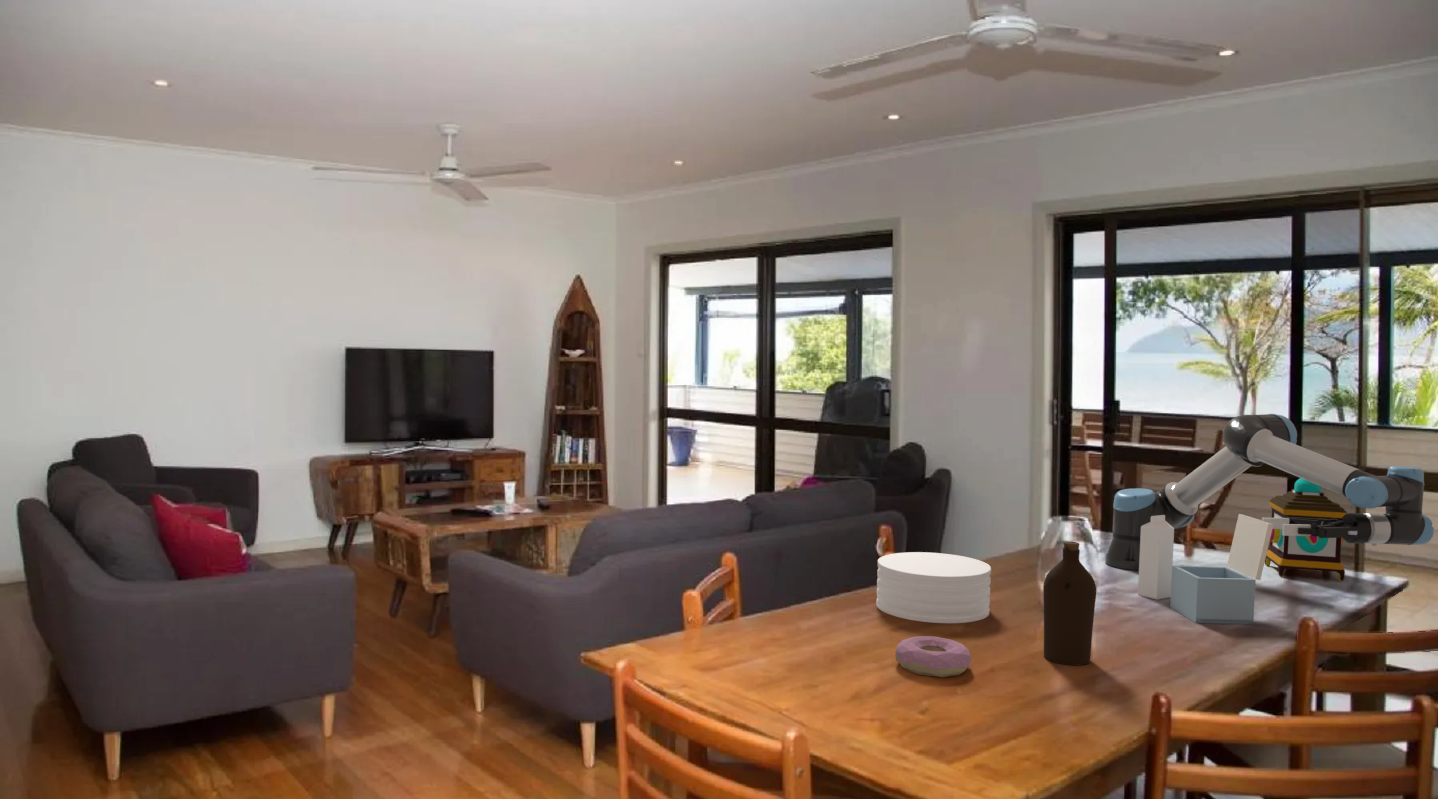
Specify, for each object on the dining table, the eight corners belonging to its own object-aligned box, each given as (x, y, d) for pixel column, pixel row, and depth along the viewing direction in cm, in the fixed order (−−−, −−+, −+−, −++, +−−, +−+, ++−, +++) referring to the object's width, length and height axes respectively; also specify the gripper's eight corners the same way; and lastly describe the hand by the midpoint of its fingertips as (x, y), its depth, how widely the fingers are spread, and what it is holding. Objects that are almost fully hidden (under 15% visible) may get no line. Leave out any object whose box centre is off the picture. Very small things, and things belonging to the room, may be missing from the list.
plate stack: (860, 613, 244) (862, 567, 244) (895, 589, 269) (897, 547, 268) (974, 630, 231) (976, 581, 231) (1000, 604, 256) (1001, 560, 255)
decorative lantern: (1329, 569, 307) (1334, 473, 305) (1351, 583, 288) (1357, 481, 286) (1258, 564, 312) (1262, 469, 311) (1275, 577, 293) (1280, 477, 291)
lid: (1226, 566, 254) (1231, 567, 254) (1255, 579, 240) (1260, 580, 240) (1238, 513, 254) (1243, 514, 254) (1268, 523, 240) (1273, 524, 240)
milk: (1137, 595, 268) (1140, 514, 267) (1152, 592, 271) (1155, 512, 270) (1157, 600, 263) (1160, 518, 262) (1171, 597, 266) (1174, 516, 265)
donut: (879, 666, 203) (880, 642, 203) (921, 651, 214) (922, 628, 214) (944, 686, 192) (945, 660, 192) (985, 669, 203) (986, 645, 203)
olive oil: (1102, 666, 206) (1107, 547, 205) (1053, 666, 205) (1058, 547, 203) (1079, 650, 216) (1083, 537, 215) (1032, 651, 215) (1036, 537, 214)
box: (1224, 609, 255) (1226, 566, 254) (1253, 624, 241) (1255, 579, 240) (1170, 607, 255) (1172, 565, 255) (1195, 622, 241) (1197, 578, 241)
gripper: (1391, 552, 236) (1296, 549, 236) (1336, 535, 257) (1249, 533, 258) (1393, 521, 236) (1298, 518, 236) (1338, 506, 257) (1250, 504, 257)
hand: (1272, 526), depth 247 cm, fingers open, 9 cm apart
